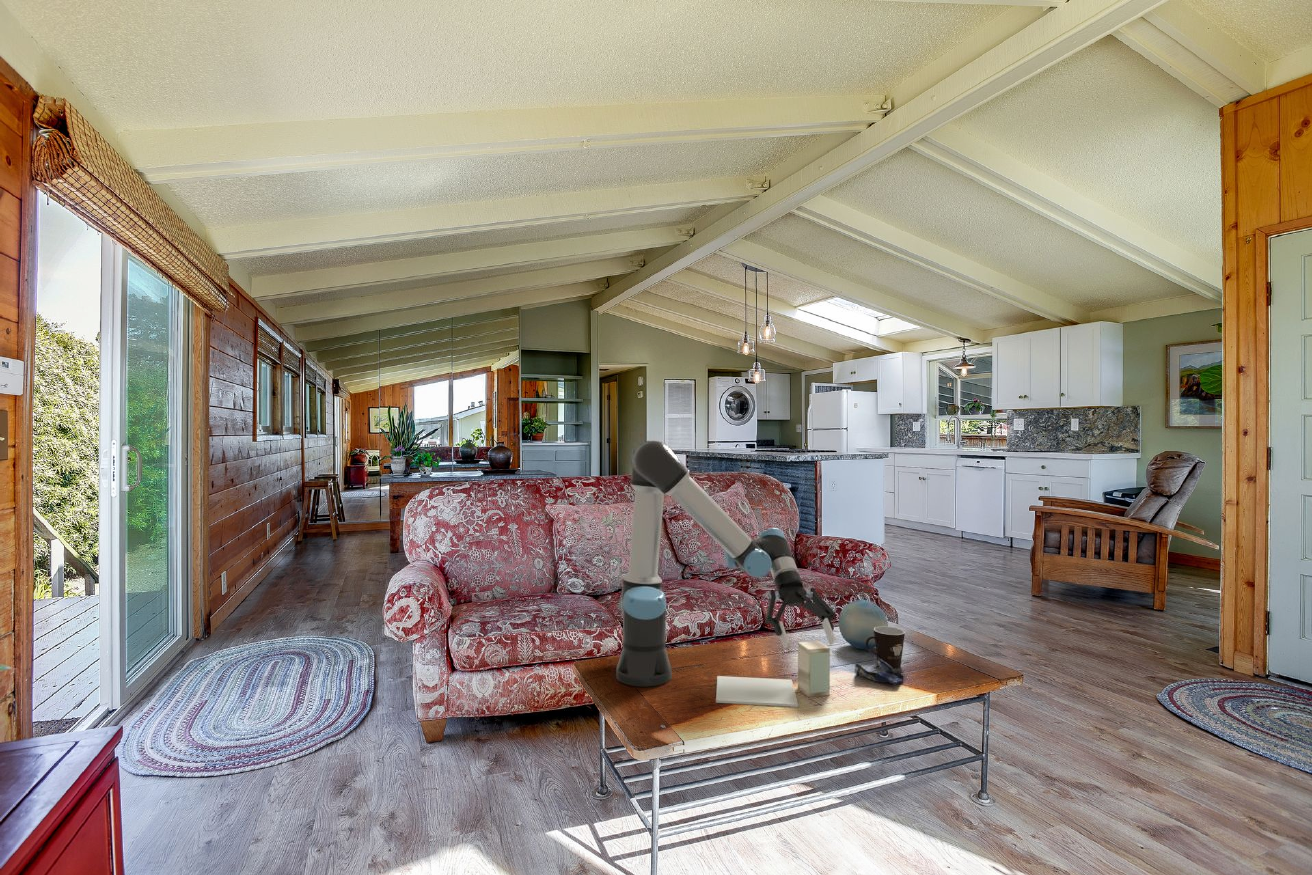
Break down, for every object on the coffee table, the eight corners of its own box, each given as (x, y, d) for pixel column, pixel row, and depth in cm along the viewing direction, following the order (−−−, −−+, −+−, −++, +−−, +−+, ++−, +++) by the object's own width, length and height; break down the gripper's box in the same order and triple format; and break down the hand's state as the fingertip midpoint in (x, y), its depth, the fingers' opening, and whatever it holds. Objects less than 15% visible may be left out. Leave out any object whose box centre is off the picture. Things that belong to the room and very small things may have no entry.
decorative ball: (898, 650, 205) (898, 602, 205) (865, 658, 197) (866, 608, 197) (860, 638, 218) (860, 593, 218) (828, 645, 210) (828, 598, 210)
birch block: (808, 697, 167) (809, 649, 167) (797, 687, 173) (798, 642, 173) (830, 695, 169) (830, 648, 169) (818, 686, 175) (818, 640, 175)
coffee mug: (900, 660, 196) (900, 626, 196) (908, 670, 188) (908, 635, 188) (860, 658, 197) (860, 625, 197) (866, 668, 189) (866, 633, 189)
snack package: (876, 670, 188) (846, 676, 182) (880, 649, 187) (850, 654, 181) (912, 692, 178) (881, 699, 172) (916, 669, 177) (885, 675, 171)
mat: (715, 702, 163) (715, 699, 163) (717, 678, 180) (717, 675, 180) (798, 706, 161) (798, 704, 161) (791, 681, 178) (791, 679, 178)
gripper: (820, 581, 197) (846, 647, 182) (742, 585, 191) (762, 654, 176) (829, 567, 192) (856, 633, 177) (749, 571, 186) (770, 640, 171)
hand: (809, 644), depth 177 cm, fingers open, 13 cm apart
